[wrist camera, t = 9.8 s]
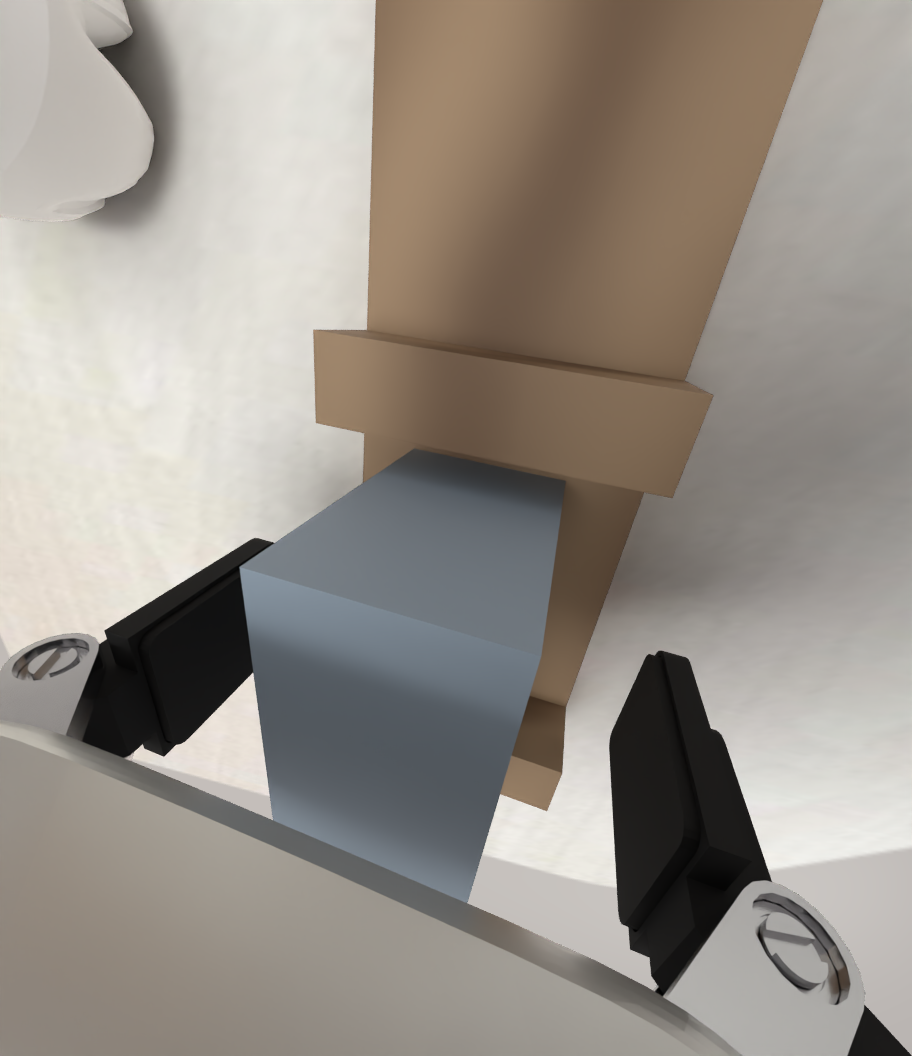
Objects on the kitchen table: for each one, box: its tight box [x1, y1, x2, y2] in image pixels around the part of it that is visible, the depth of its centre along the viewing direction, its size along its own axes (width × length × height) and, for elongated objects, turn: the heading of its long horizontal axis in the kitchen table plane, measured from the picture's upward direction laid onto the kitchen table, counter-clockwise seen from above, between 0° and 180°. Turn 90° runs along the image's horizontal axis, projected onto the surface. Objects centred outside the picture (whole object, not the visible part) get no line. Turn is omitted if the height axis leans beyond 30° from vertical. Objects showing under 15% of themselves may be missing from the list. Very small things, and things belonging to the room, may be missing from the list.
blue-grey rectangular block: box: [239, 448, 566, 903], centre depth 10 cm, size 4×7×7 cm, turn 172°
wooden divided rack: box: [313, 0, 823, 811], centre depth 10 cm, size 8×24×4 cm, turn 172°
